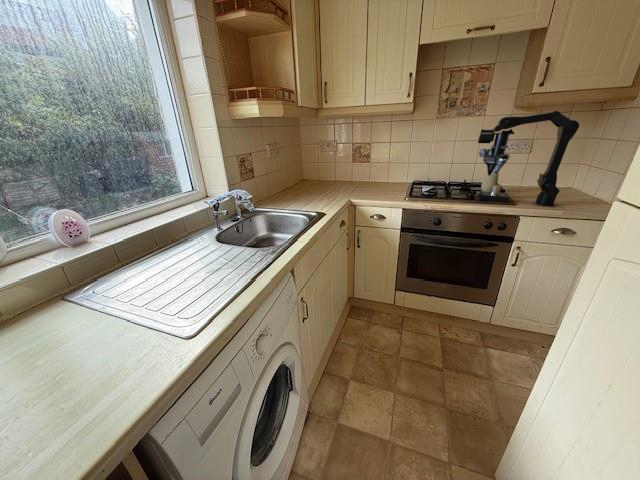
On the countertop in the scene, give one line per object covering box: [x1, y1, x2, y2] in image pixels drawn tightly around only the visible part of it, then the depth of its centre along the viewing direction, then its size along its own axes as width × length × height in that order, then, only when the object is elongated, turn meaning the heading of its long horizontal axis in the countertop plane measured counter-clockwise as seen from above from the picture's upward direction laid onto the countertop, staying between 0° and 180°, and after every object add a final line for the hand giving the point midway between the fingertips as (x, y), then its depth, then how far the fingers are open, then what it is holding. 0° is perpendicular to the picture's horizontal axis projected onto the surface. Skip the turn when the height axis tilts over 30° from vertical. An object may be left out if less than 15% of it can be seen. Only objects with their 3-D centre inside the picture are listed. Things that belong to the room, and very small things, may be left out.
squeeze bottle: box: [480, 169, 500, 192], centre depth 155 cm, size 8×8×18 cm
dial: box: [490, 184, 502, 195], centre depth 144 cm, size 4×4×5 cm
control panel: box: [478, 190, 511, 204], centre depth 145 cm, size 13×10×3 cm
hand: (492, 174), depth 141 cm, fingers open, 9 cm apart
